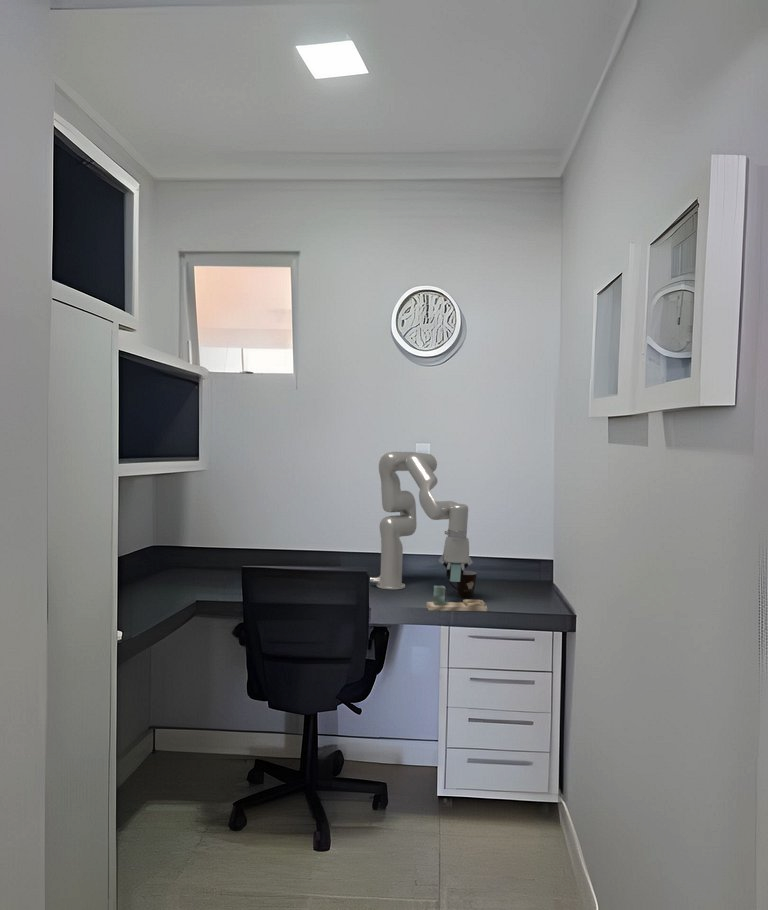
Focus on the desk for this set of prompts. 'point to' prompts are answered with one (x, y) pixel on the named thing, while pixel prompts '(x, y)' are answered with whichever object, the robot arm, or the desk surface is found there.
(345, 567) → the desk surface
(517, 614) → the desk surface
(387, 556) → the robot arm
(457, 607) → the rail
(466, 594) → the coffee mug
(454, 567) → the pale green block
